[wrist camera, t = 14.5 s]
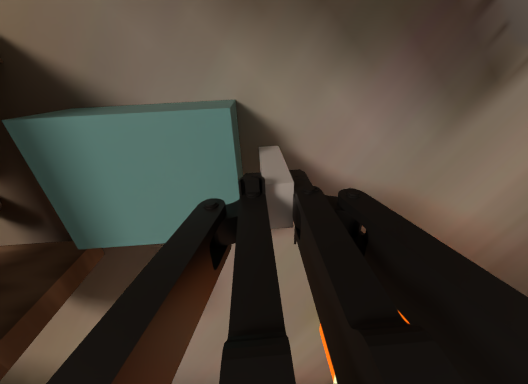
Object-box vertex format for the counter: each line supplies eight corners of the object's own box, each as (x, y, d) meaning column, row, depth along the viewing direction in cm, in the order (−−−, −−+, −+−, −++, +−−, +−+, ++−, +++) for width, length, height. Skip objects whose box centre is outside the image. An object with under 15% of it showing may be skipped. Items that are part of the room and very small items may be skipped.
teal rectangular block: (235, 99, 16) (229, 107, 12) (245, 202, 20) (244, 237, 16) (71, 108, 16) (1, 120, 11) (116, 211, 20) (78, 249, 16)
